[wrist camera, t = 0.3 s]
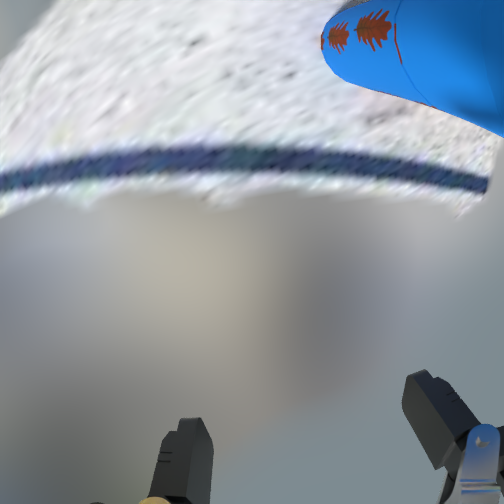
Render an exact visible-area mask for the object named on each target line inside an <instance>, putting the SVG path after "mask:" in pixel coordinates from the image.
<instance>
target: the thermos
mask: <svg viewBox="0 0 504 504" xmlns="http://www.w3.org/2000/svg"><path fill="white" fill-rule="evenodd" d="M321 50H322V53H323V55H324V58H325V61H326V63H327V64H328V65H329V67H330V68H331V69H332V71H333V72H334V73H335V74H336V75H338V76H339V77H340V78H342V79H343V80H345V81H346V82H349V83H352V84H356V85H359V86H362V87H365V88H368V89H371V90H374V91H378V92H382V93H386V94H390V95H393V96H397V97H401V98H404V99H408V100H411V101H414V102H417V103H420V104H424V105H427V106H430V107H432V108H435V109H438V110H441V111H444V112H447V113H449V114H452V115H454V116H457V117H459V118H462V119H464V120H467V121H469V122H471V123H474V124H476V125H478V126H480V127H482V128H485V129H487V130H489V131H491V132H493V133H495V134H497V135H499V136H501V137H503V138H504V0H371V1H368V2H365V3H362V4H359V5H357V6H354V7H351V8H349V9H346V10H344V11H342V12H341V13H339V14H337V15H335V16H334V17H333V18H332V19H331V20H330V21H329V22H328V23H327V24H326V25H325V27H324V30H323V32H322V35H321Z"/></svg>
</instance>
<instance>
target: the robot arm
mask: <svg viewBox="0 0 504 504" xmlns="http://www.w3.org/2000/svg"><path fill="white" fill-rule="evenodd" d="M402 409H403V412H404V414H405V416H406V418H407V420H408V421H409V423H410V425H411V426H412V428H413V430H414V432H415V434H416V435H417V437H418V439H419V441H420V443H421V444H422V446H423V448H424V450H425V452H426V454H427V455H428V457H429V459H430V461H431V463H432V464H433V467H434V469H435V470H437V469H439V468H441V467H443V466H445V468H446V470H447V471H446V473H445V476H444V480H443V484H442V487H441V490H440V493H439V496H438V500H437V503H436V504H498V503H499V498H500V492H502V494H503V496H504V426H501V427H498V428H495V427H494V426H492V425H490V424H481V423H480V422H479V421H478V420H477V418H476V417H475V416H474V414H473V413H472V412H471V411H470V409H469V408H468V407H467V405H466V404H465V403H464V402H463V400H462V399H460V397H459V395H458V394H457V393H456V392H455V390H454V389H453V388H452V387H451V385H450V384H449V383H448V382H446V381H444V380H443V379H441V378H439V377H436V378H433V377H432V376H431V375H430V374H429V372H428V371H427V370H425V369H424V370H421V371H418V372H416V373H413V374H410V375H408V376H407V378H406V383H405V388H404V393H403V398H402ZM213 454H214V449H213V443H212V439H211V437H210V436H209V433H208V431H207V429H206V427H205V425H204V423H203V421H202V419H201V418H181V419H180V421H179V425H178V429H177V431H169V433H168V434H167V435H166V437H165V438H164V439H163V440H162V444H161V447H160V454H159V455H158V460H157V461H158V462H157V464H156V468H155V472H154V476H153V480H152V484H151V488H150V492H149V495H148V497H147V498H146V499H144V500H142V501H141V502H139V504H210V491H211V477H212V466H213ZM496 482H497V484H496ZM91 504H103V503H98V502H97V503H91Z"/></svg>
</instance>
